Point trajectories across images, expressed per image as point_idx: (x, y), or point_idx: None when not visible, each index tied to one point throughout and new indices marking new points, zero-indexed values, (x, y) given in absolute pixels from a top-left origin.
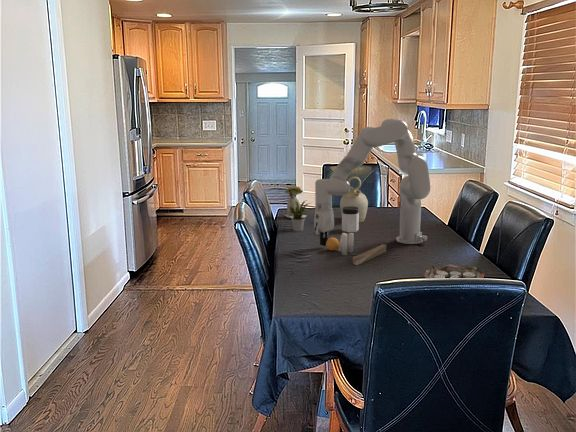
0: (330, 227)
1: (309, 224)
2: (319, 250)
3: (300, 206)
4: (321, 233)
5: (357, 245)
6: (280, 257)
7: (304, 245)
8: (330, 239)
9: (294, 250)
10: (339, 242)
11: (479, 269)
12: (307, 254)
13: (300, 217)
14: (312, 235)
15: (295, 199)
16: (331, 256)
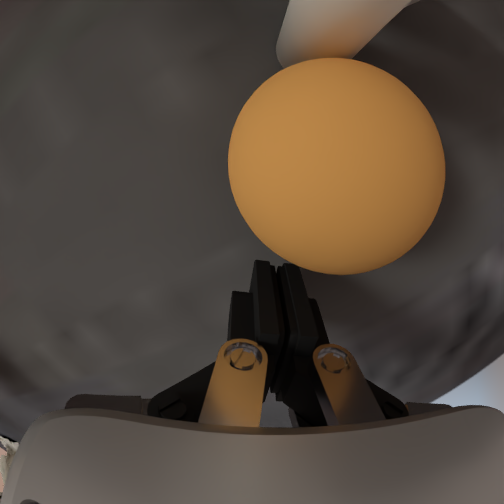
0: (239, 497)
1: (15, 426)
2: None
3: (2, 465)
4: (401, 415)
5: (19, 42)
6: (500, 353)
7: (274, 398)
8: (434, 206)
9: (399, 382)
10: (377, 28)
11: None
12: (471, 287)
13: None
14: None
15: None
16: (482, 94)
